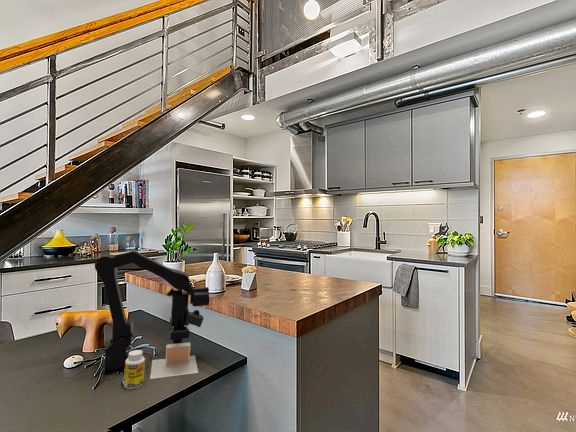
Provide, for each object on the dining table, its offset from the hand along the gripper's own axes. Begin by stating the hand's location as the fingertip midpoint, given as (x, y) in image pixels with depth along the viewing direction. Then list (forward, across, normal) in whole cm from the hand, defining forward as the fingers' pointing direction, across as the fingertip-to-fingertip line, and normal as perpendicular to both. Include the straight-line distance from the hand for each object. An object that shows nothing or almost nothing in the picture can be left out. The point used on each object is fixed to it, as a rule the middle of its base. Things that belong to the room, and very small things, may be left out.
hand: (177, 349), depth 114 cm
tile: (+4, -1, 0) cm, 4 cm away
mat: (+4, -4, +1) cm, 6 cm away
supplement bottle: (+5, -13, +13) cm, 19 cm away
